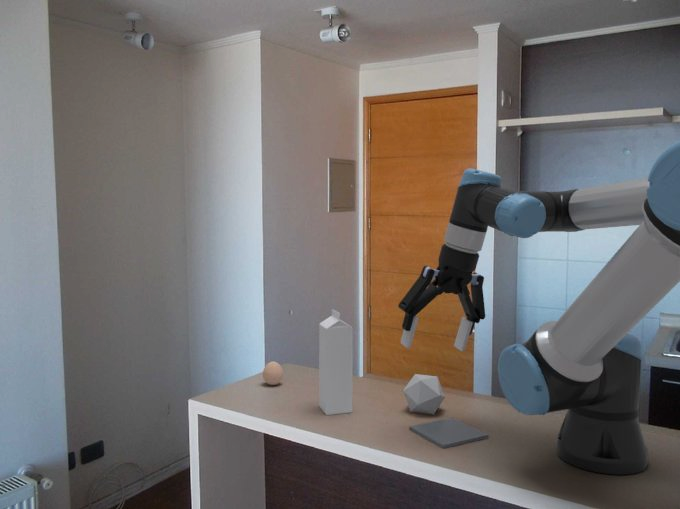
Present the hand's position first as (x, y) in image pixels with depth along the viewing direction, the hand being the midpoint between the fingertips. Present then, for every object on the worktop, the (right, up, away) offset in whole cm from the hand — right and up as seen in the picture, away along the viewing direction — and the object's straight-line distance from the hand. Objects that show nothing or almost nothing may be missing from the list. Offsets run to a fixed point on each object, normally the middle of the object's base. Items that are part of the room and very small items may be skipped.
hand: (432, 347), depth 125 cm
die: (-1, -16, +10) cm, 18 cm away
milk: (-20, -15, +10) cm, 27 cm away
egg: (-36, -14, +29) cm, 48 cm away
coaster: (+2, -16, -4) cm, 17 cm away
